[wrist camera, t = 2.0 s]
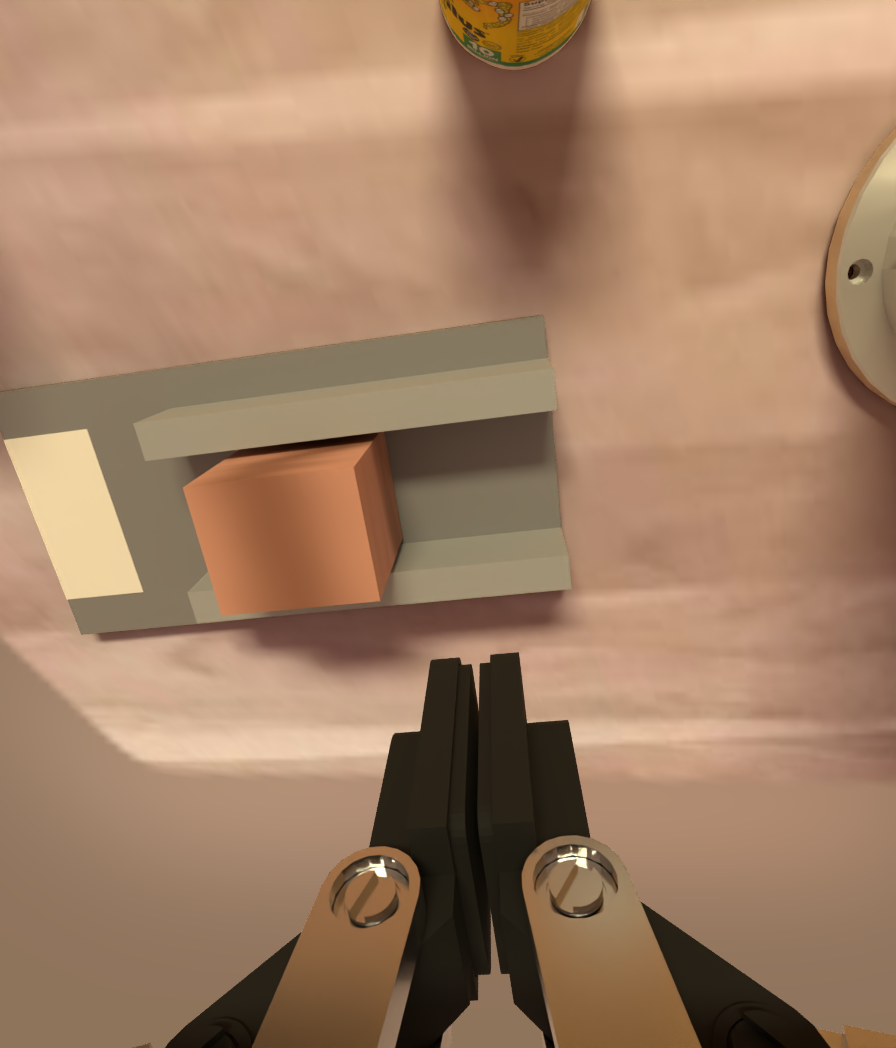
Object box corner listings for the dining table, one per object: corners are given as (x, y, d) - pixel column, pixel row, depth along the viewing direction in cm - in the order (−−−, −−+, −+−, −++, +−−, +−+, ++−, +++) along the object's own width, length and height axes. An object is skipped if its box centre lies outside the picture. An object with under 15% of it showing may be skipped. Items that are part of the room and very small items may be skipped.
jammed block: (383, 427, 26) (353, 467, 21) (402, 537, 28) (380, 601, 23) (247, 444, 27) (182, 487, 21) (274, 550, 29) (221, 615, 23)
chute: (541, 314, 25) (550, 320, 22) (564, 580, 30) (573, 623, 26) (2, 391, 28) (-72, 408, 24) (93, 624, 32) (41, 669, 29)
